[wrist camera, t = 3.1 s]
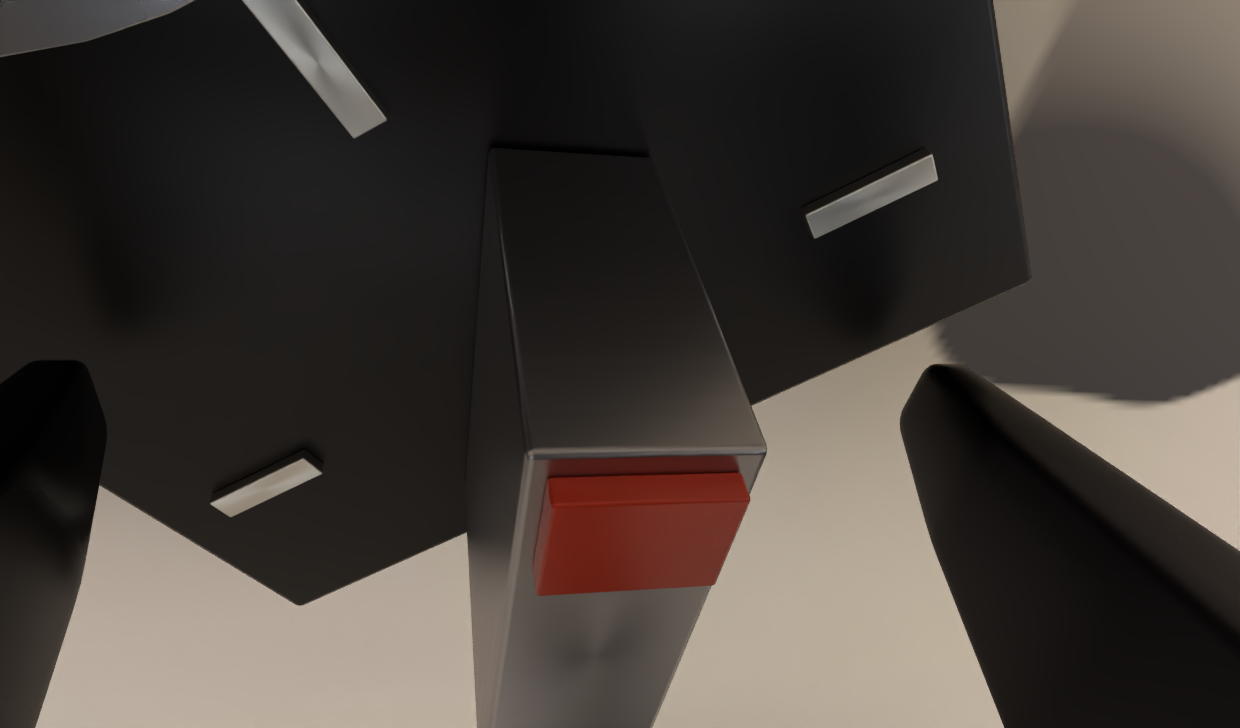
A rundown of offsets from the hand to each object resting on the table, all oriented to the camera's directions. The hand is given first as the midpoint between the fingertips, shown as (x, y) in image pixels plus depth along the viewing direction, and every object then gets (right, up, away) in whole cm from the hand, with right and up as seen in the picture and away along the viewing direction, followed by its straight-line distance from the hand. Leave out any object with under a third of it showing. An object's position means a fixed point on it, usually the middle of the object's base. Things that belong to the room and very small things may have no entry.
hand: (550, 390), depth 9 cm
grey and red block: (0, 0, 0) cm, 1 cm away
